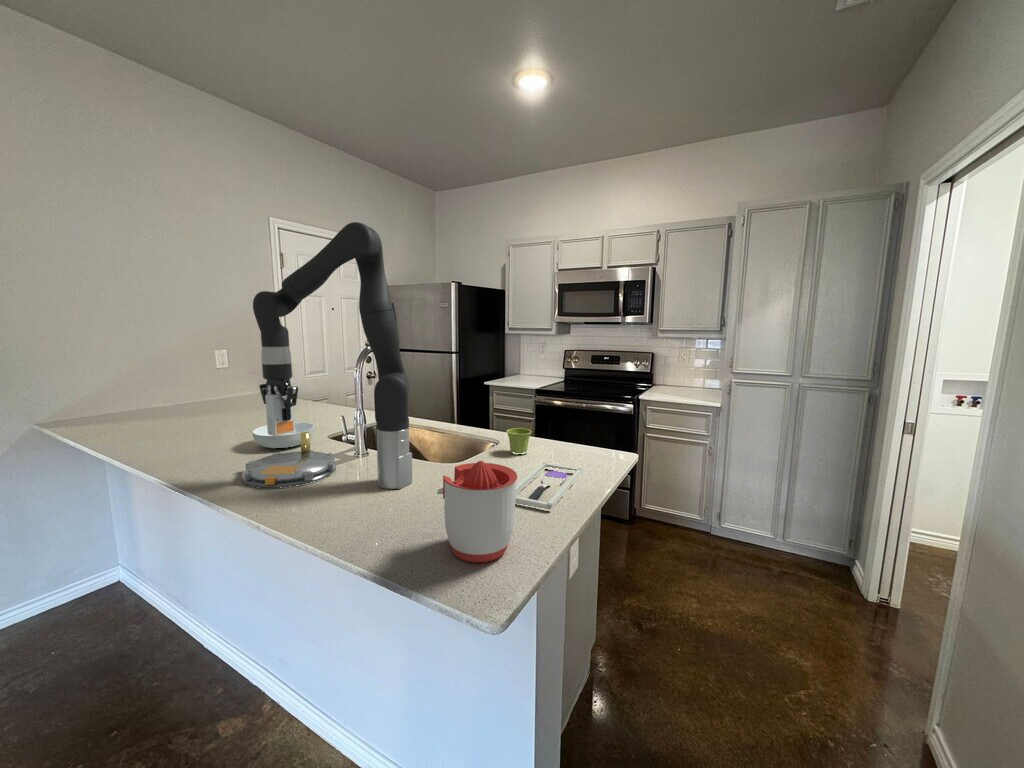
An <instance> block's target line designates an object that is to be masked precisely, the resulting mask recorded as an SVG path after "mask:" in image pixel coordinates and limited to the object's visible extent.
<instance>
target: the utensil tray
mask: <svg viewBox="0 0 1024 768" xmlns="http://www.w3.org/2000/svg"><path fill="white" fill-rule="evenodd" d="M545 467H552V468H559V469H567V470H575V471H576V472H575V473H574V474H573V475H572V474H571V476H570V477H569V478H568V480H566V482H565V483H564V484H563V485H561V486H560V488H559V489H558V491H557V492H555V494H553V496H552V497H551V498H550V500H549V501H548V502H546V501H541V500H532V499H528V498H529V497H528V498H527V497H523V496H522V497H521V496H518V495H517V496H515V503H517V504H523V505H528V506H534V507H539V508H545V509H551V508H552V507H553V506H554V505H555V503H556V502H557V501H558V500H559V498H560V497H561V496H562V495H563V493H564V492H565V491H566V490H567V488H568V487H569V486H570V485H571V483H572V482H573V481H574V480H575V478H576V477H577V476H578V475H579V474H580V472H581V471H582V472H583V469H582V468H578V467H572V466H566V465H560V464H554V463H548V462H543V463H541V465H539V466H537V468H535V469H533V470H532V472H530V474H529V475H527V476H526V477H525V478H523V480H521V481H519V483H516V493H515V495H516V494H517V493H518V492H519V491H520V490H521V489H522V488H523V487H524V486H526V485H527V484H528V483H529V482H530V481H531V480H532V479H533V478H534V477H535V476H536V475H537V474H538V473H539V472H540V471H541V470H543V469H544V468H545Z"/></svg>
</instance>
